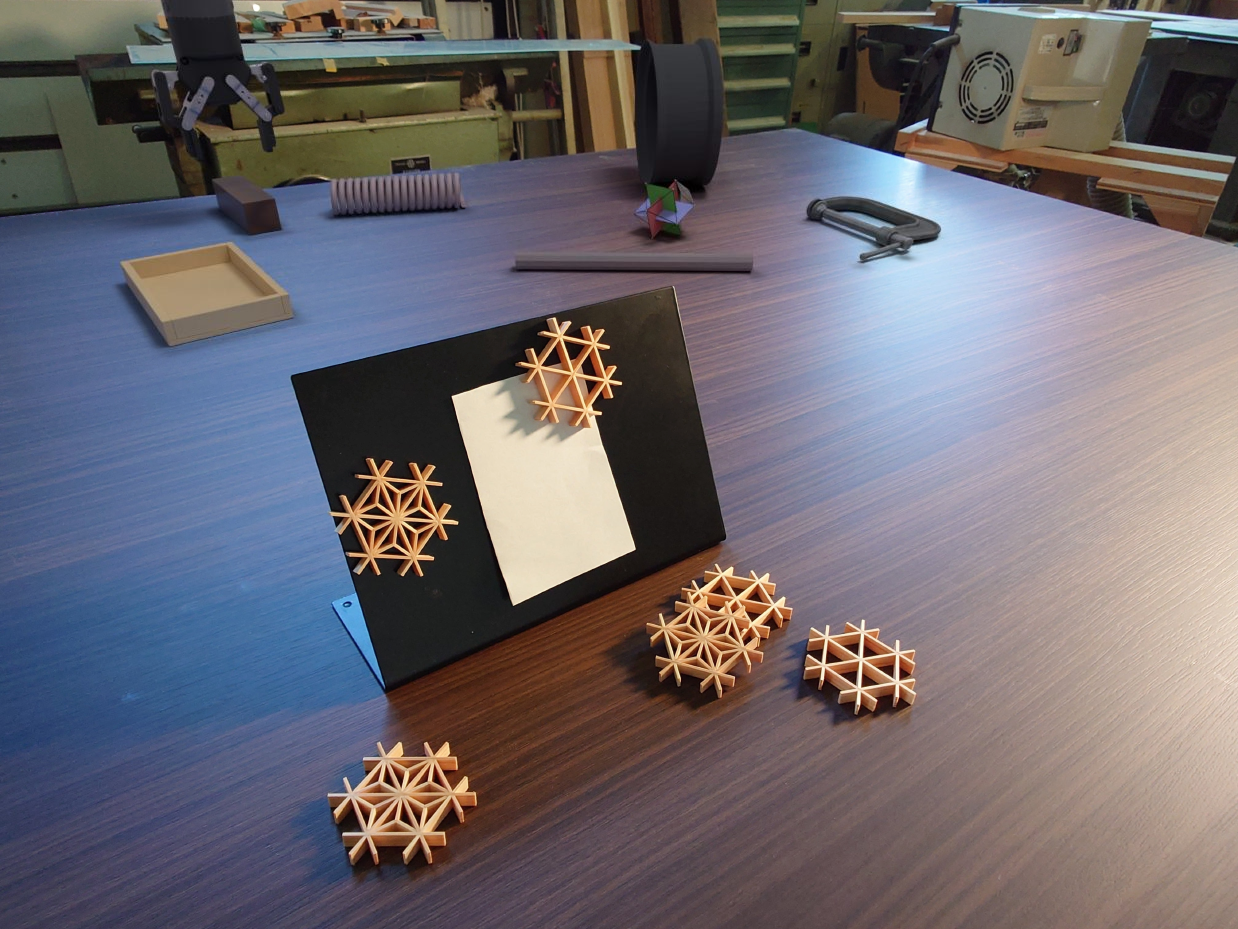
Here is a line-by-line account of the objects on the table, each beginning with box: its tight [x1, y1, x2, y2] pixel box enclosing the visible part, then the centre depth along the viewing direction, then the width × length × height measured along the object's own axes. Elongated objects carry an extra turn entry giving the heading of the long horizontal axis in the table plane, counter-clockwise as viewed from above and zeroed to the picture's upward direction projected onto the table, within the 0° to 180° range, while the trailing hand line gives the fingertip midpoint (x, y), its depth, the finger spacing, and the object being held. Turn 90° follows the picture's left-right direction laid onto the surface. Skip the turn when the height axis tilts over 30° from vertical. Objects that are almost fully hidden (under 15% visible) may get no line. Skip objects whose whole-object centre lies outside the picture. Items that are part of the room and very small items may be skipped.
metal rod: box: [514, 251, 754, 272], centre depth 93 cm, size 2×27×2 cm, turn 90°
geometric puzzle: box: [632, 180, 696, 240], centre depth 102 cm, size 7×7×8 cm
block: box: [211, 174, 283, 236], centre depth 107 cm, size 4×14×4 cm, turn 37°
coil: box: [329, 172, 468, 216], centre depth 110 cm, size 5×5×18 cm
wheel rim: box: [634, 37, 724, 187], centre depth 119 cm, size 20×9×20 cm, turn 8°
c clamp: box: [805, 195, 942, 262], centre depth 106 cm, size 20×17×3 cm
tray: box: [119, 241, 295, 347], centre depth 84 cm, size 12×20×2 cm, turn 37°
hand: (234, 155), depth 103 cm, fingers open, 8 cm apart
